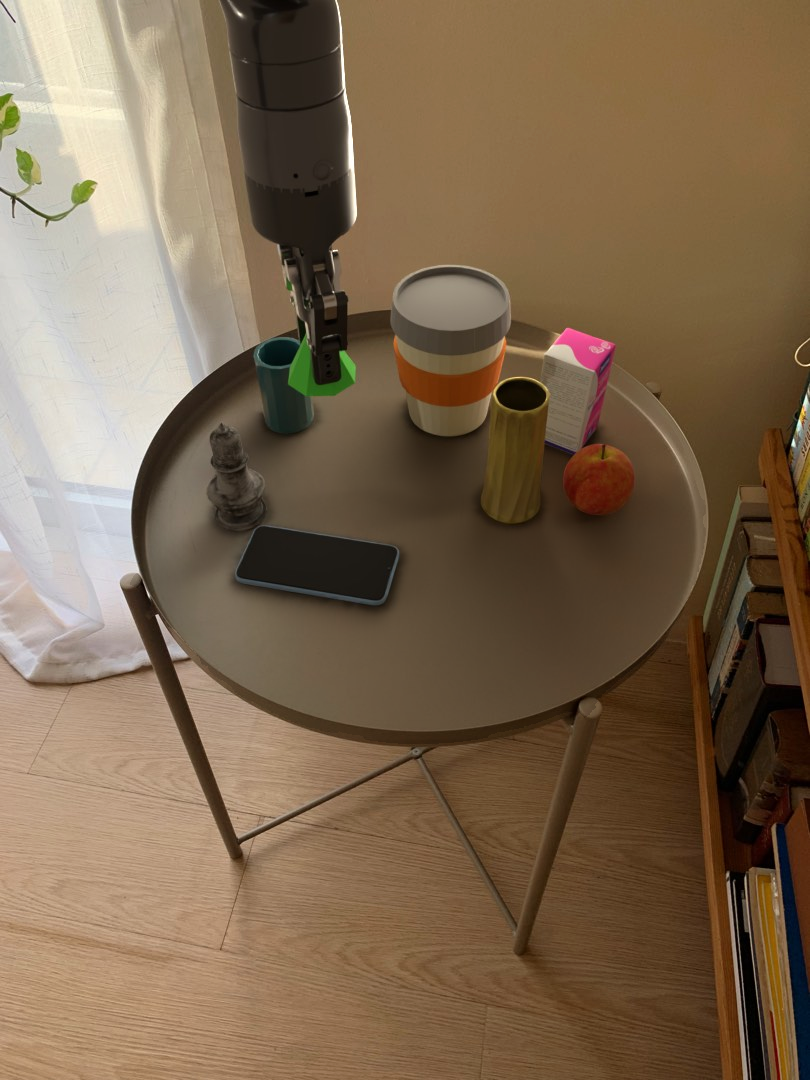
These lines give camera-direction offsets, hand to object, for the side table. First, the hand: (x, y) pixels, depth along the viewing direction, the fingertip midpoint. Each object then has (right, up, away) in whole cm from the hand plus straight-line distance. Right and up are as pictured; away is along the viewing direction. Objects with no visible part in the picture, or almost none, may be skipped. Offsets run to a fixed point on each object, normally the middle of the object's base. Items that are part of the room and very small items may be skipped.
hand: (320, 361), depth 73 cm
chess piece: (-10, -12, +18) cm, 24 cm away
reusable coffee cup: (+12, 0, +29) cm, 31 cm away
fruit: (+26, -11, +18) cm, 34 cm away
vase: (+18, -11, +19) cm, 28 cm away
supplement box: (+25, -3, +26) cm, 36 cm away
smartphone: (-1, -17, +13) cm, 22 cm away
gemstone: (0, -1, +1) cm, 2 cm away
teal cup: (-6, -1, +28) cm, 29 cm away
